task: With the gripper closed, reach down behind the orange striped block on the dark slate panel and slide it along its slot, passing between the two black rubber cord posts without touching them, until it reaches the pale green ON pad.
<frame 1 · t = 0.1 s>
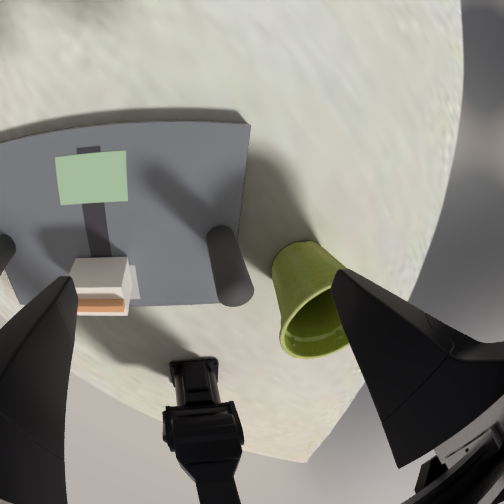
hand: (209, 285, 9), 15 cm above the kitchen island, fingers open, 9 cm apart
plant pot: (297, 263, 29), on the kitchen island
panel: (100, 224, 21), on the kitchen island
cord post 2: (11, 238, 19), resting on panel
cord post 1: (218, 231, 24), resting on panel
orange striped block: (98, 289, 20), point 4 cm above the kitchen island, slide at 0.0 cm
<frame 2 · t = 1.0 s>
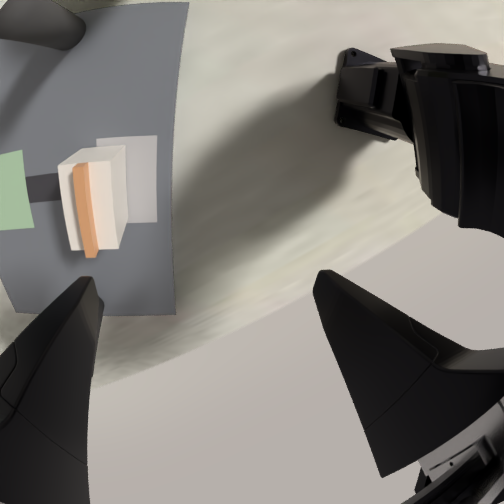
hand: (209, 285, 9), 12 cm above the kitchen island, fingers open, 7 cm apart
panel: (60, 181, 16), on the kitchen island
cord post 2: (94, 294, 21), resting on panel
cord post 1: (75, 36, 10), resting on panel
orange striped block: (95, 197, 14), point 4 cm above the kitchen island, slide at 0.0 cm
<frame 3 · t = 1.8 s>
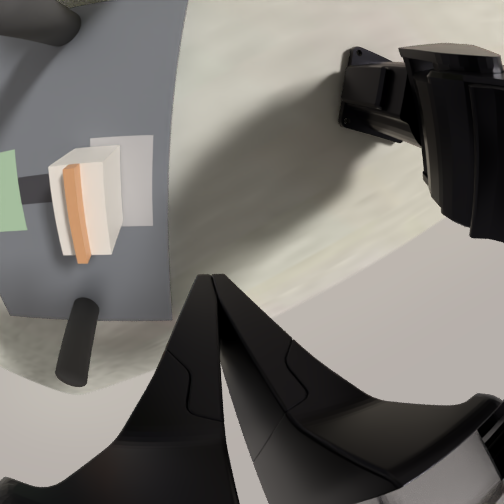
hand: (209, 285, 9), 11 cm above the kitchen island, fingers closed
panel: (53, 182, 15), on the kitchen island
cord post 2: (88, 298, 21), resting on panel
cord post 1: (70, 32, 10), resting on panel
orange striped block: (87, 200, 13), point 4 cm above the kitchen island, slide at 0.0 cm
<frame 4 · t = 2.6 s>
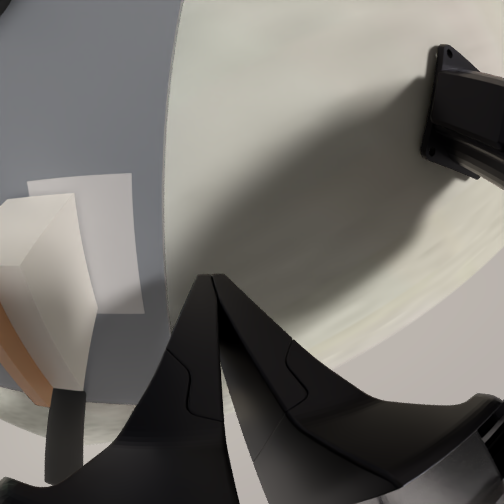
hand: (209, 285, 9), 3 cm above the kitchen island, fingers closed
cord post 2: (72, 375, 14), resting on panel
cord post 1: (7, 6, 3), resting on panel
orange striped block: (29, 301, 6), point 4 cm above the kitchen island, slide at 0.0 cm
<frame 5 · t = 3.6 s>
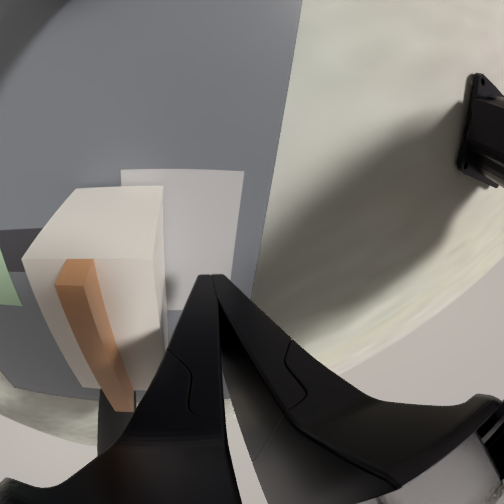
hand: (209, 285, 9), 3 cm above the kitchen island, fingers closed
panel: (55, 235, 9), on the kitchen island
cord post 2: (118, 376, 15), resting on panel
orange striped block: (112, 299, 7), point 4 cm above the kitchen island, slide at 0.6 cm, touching gripper
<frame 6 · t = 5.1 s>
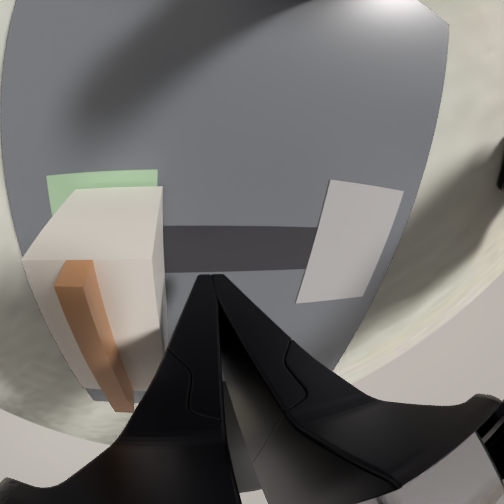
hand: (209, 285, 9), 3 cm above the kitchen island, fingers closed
panel: (222, 233, 11), on the kitchen island
cord post 2: (226, 373, 17), resting on panel
orange striped block: (112, 299, 7), point 4 cm above the kitchen island, slide at 7.8 cm, touching gripper
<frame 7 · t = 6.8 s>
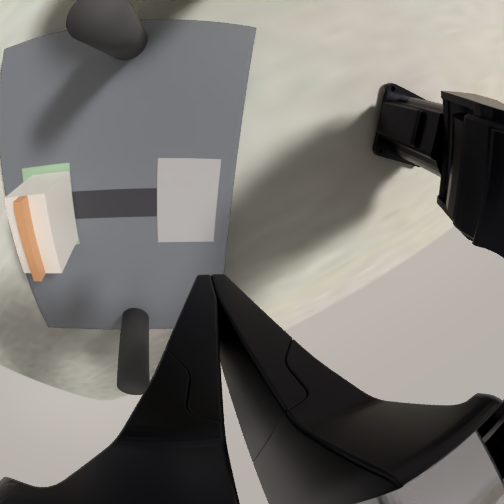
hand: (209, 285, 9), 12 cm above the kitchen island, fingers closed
panel: (110, 197, 17), on the kitchen island
cord post 2: (136, 308, 23), resting on panel
cord post 1: (130, 45, 12), resting on panel
orange striped block: (41, 224, 13), point 4 cm above the kitchen island, slide at 8.0 cm
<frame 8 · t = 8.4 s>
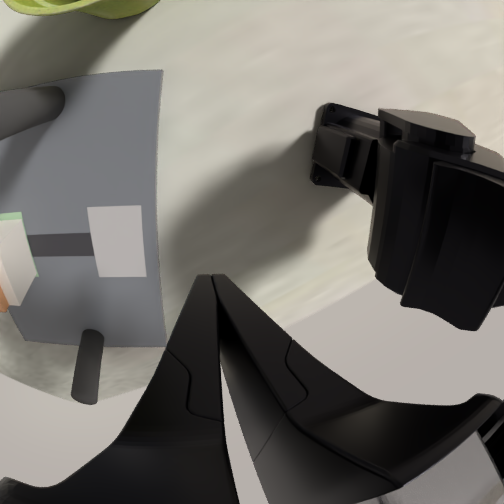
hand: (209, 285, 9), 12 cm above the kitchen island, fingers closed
panel: (58, 237, 18), on the kitchen island
cord post 2: (94, 328, 24), resting on panel
cord post 1: (57, 102, 13), resting on panel
orange striped block: (3, 265, 14), point 4 cm above the kitchen island, slide at 8.0 cm
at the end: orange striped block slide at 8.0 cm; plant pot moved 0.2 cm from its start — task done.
